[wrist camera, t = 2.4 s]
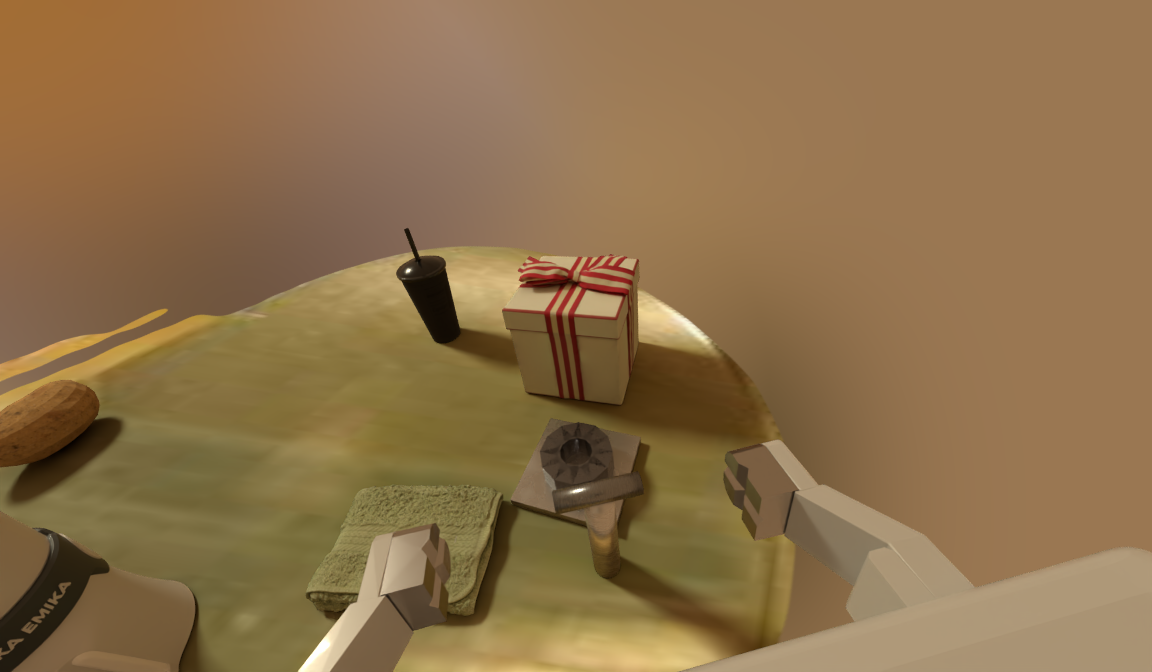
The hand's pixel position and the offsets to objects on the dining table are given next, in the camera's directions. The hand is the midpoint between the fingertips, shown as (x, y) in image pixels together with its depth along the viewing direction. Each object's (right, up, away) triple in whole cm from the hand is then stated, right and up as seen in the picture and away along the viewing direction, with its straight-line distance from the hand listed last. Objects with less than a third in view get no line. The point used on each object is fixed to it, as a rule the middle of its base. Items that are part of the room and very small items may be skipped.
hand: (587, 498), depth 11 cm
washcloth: (-17, -18, +33) cm, 42 cm away
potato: (-77, -12, +51) cm, 93 cm away
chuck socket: (0, -12, +38) cm, 39 cm away
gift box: (+1, +1, +53) cm, 53 cm away
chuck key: (+3, -18, +29) cm, 34 cm away
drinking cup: (-23, +5, +62) cm, 67 cm away
